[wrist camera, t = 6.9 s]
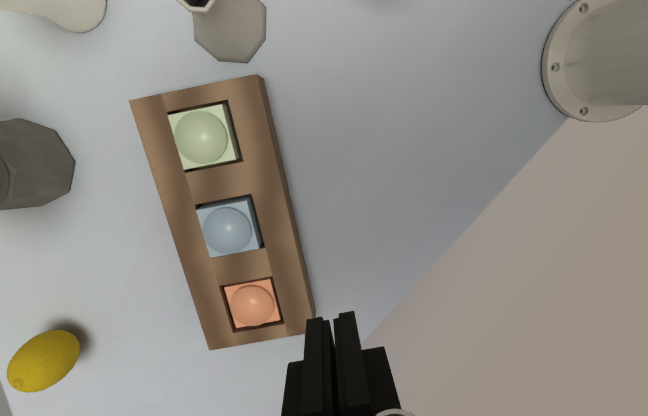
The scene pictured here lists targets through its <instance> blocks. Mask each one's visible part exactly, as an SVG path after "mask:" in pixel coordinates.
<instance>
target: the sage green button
mask: <svg viewBox="0 0 648 416" xmlns="http://www.w3.org/2000/svg"><path fill="white" fill-rule="evenodd" d="M168 118H169V122H170V125H171V128H172V132H173V135H174V139H175V144H176V146H177V148H178V152H179V155H180V158H181V162H182V165H183V169H184V170H185V169H190V168H195V167H200V166H205V165H210V164H216V163H221V162H226V161H231V160H236V159H238V158H240V157H242V155H241V151H240V147H239V143H238V139H237V135H236V131H235V127H234V123H233V120H232V116H231V112H230V108H229V105H224V104H220V105H215V106H211V107H206V108H201V109H196V110H191V111H186V112H181V113H176V114H171V115H168Z"/></svg>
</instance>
